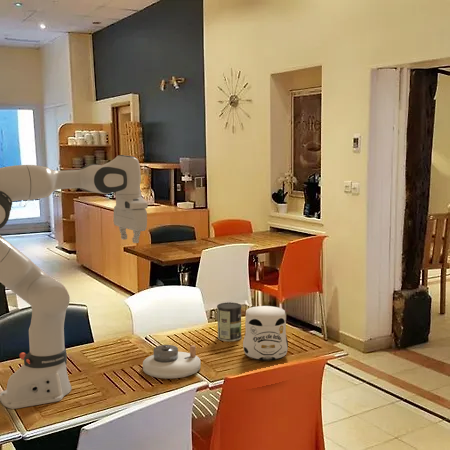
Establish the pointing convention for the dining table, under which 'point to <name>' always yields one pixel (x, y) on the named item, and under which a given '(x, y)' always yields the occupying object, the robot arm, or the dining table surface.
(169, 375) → the crank wheel
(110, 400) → the dining table surface
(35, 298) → the robot arm
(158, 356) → the iron cover
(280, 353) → the milk container
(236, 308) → the coffee can
